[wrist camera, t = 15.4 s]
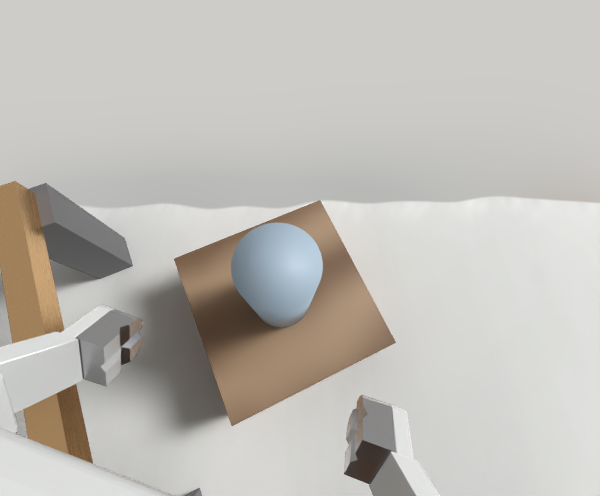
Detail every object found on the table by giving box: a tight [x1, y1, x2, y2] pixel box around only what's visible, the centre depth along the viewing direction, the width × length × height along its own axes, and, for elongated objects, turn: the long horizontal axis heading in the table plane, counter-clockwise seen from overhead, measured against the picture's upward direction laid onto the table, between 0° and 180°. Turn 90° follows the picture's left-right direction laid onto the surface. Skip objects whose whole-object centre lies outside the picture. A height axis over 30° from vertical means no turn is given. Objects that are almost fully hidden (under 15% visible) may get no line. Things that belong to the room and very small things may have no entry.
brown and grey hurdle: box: [29, 183, 202, 496], centre depth 21 cm, size 25×3×10 cm, turn 25°
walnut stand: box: [174, 200, 396, 426], centre depth 25 cm, size 12×12×6 cm
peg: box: [231, 223, 323, 328], centre depth 18 cm, size 4×4×9 cm
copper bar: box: [0, 181, 93, 464], centre depth 15 cm, size 24×2×2 cm, turn 25°
